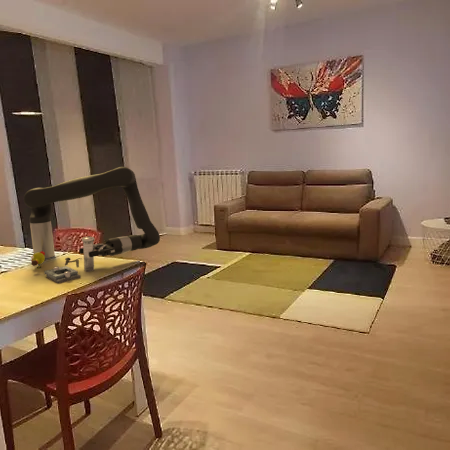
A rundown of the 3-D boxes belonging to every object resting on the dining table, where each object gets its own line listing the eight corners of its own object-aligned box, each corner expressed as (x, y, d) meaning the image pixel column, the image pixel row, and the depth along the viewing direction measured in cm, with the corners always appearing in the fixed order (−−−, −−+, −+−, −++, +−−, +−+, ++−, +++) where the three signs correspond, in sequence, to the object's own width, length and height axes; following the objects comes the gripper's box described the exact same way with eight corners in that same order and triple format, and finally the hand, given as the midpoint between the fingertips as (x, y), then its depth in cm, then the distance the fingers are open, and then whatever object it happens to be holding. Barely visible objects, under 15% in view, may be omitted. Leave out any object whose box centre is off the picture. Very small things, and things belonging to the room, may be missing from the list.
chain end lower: (46, 277, 165) (45, 270, 164) (68, 272, 171) (67, 265, 170) (58, 283, 157) (57, 275, 156) (80, 277, 163) (79, 270, 162)
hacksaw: (65, 260, 192) (65, 257, 191) (88, 257, 195) (88, 254, 195) (63, 275, 169) (62, 271, 169) (89, 271, 172) (88, 268, 172)
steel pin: (80, 269, 173) (79, 237, 170) (91, 267, 176) (90, 236, 173) (86, 272, 169) (85, 240, 166) (97, 270, 173) (96, 238, 170)
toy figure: (36, 262, 187) (34, 248, 186) (49, 261, 188) (47, 247, 187) (27, 274, 170) (25, 258, 169) (41, 272, 171) (39, 257, 170)
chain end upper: (44, 276, 166) (43, 269, 165) (66, 271, 172) (65, 264, 172) (56, 282, 158) (55, 274, 158) (78, 276, 164) (77, 269, 164)
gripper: (110, 235, 185) (75, 241, 174) (126, 239, 175) (91, 246, 164) (111, 251, 187) (77, 258, 176) (128, 256, 177) (93, 264, 166)
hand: (84, 253), depth 170 cm, fingers open, 8 cm apart
